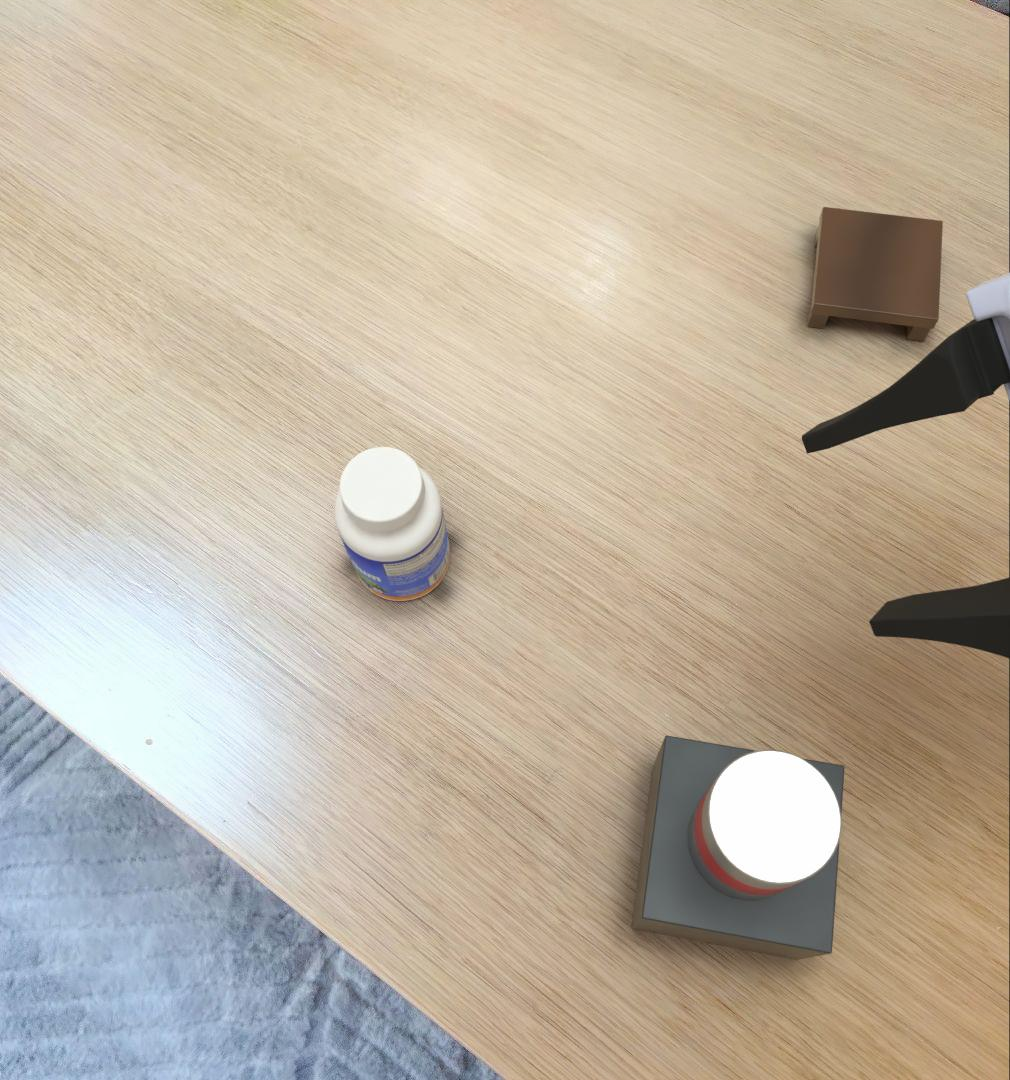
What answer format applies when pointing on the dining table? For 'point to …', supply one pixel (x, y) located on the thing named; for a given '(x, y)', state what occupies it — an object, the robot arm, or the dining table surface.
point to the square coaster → (689, 900)
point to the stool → (877, 270)
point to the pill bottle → (392, 524)
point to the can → (764, 825)
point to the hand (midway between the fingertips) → (847, 529)
